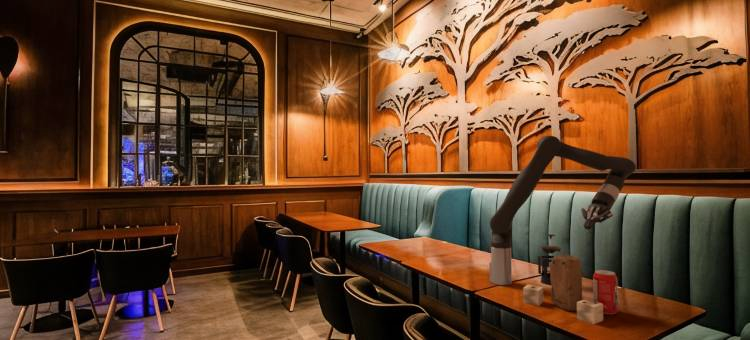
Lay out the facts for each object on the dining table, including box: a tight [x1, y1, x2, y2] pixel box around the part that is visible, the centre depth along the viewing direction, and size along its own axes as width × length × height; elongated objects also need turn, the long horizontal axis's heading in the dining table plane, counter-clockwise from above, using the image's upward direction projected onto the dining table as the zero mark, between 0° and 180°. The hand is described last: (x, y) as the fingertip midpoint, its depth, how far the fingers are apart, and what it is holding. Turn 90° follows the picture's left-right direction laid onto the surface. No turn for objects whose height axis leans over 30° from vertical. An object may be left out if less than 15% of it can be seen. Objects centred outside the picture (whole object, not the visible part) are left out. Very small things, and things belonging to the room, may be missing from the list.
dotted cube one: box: [522, 284, 544, 306], centre depth 150 cm, size 6×6×6 cm
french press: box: [537, 233, 562, 286], centre depth 177 cm, size 12×9×23 cm
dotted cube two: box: [576, 298, 604, 325], centre depth 132 cm, size 6×6×6 cm
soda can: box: [592, 269, 619, 316], centre depth 139 cm, size 8×8×15 cm
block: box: [549, 253, 583, 312], centre depth 144 cm, size 11×8×20 cm
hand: (586, 228), depth 150 cm, fingers closed
